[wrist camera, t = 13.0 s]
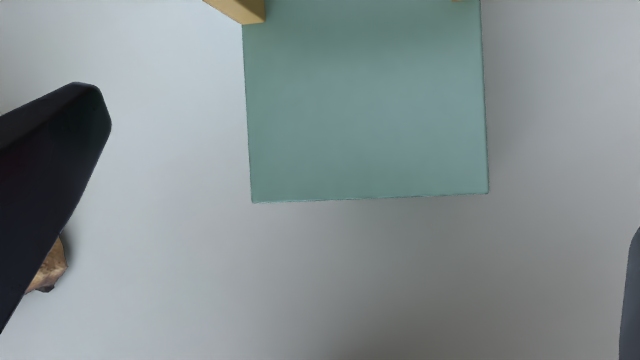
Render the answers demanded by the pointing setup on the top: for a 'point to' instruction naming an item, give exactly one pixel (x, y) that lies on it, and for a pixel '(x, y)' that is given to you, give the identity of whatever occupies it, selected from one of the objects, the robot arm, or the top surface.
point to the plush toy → (50, 269)
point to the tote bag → (363, 98)
